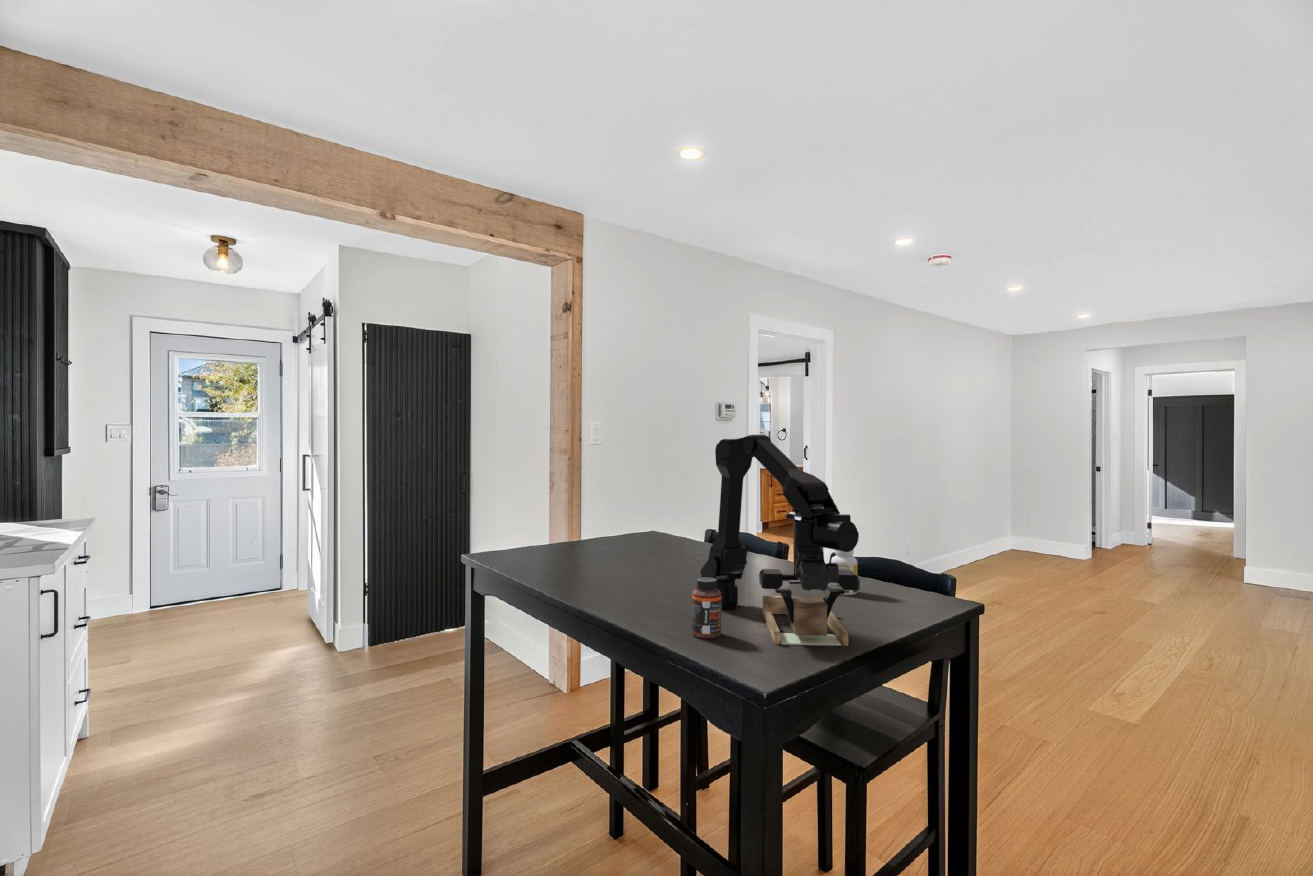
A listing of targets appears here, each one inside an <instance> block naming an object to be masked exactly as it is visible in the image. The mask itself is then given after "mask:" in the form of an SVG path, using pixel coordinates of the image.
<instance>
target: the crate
mask: <svg viewBox="0 0 1313 876" xmlns="http://www.w3.org/2000/svg"><path fill="white" fill-rule="evenodd" d="M822 597H823V596H817V595H816V596H814V595H813V596H812V595H811V596H810V595H809V596H806V595H791V598H792V607H793V623H791V622H790V628H791V629H792V631H793V632H792V633H794V634H795V635H809V636H827V634H828V624H827V609H828V605H827V604H826V603H825V602H824V600H823V599H822Z"/></svg>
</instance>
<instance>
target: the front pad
mask: <svg viewBox="0 0 1313 876" xmlns="http://www.w3.org/2000/svg"><path fill="white" fill-rule="evenodd" d="M780 644H781V645H785V646H786V645H790V646H791V645H795V646H796V645H797V646H837V647H838V646H842V644H841V642H840V641H839V639H838V638H837V637H836V635H835V634H834V633H827V636H809V635H795V634H794V632H792V633H791V632H789V633H788V632H785V633H784V632H780Z"/></svg>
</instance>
